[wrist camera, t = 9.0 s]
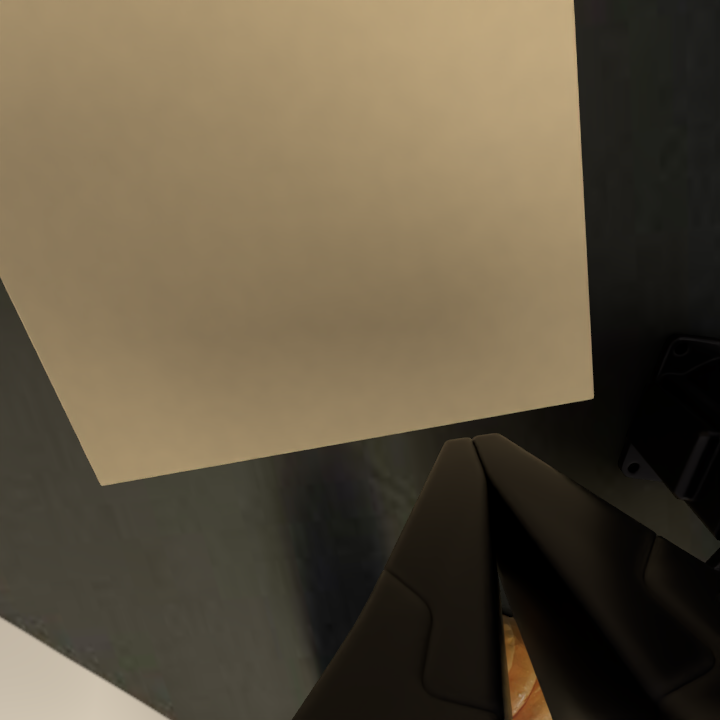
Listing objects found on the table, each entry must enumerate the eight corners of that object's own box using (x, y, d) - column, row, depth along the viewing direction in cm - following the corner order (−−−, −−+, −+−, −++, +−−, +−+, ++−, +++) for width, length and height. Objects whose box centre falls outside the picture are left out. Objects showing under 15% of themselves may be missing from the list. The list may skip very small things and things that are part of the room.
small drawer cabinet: (53, -72, 17) (-270, -275, 8) (449, -185, 15) (547, -556, 7) (202, 349, 22) (100, 487, 14) (503, 289, 21) (595, 399, 12)
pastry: (388, 647, 28) (391, 721, 25) (481, 573, 26) (499, 641, 23) (511, 726, 31) (530, 803, 27) (606, 663, 29) (639, 738, 25)
